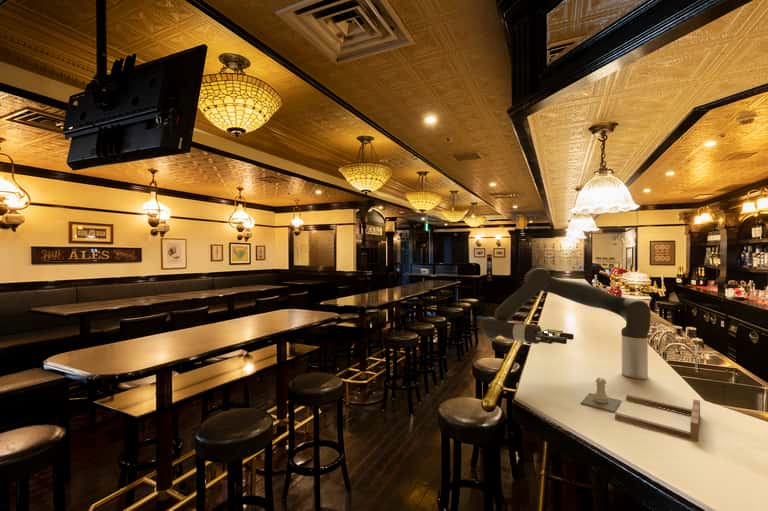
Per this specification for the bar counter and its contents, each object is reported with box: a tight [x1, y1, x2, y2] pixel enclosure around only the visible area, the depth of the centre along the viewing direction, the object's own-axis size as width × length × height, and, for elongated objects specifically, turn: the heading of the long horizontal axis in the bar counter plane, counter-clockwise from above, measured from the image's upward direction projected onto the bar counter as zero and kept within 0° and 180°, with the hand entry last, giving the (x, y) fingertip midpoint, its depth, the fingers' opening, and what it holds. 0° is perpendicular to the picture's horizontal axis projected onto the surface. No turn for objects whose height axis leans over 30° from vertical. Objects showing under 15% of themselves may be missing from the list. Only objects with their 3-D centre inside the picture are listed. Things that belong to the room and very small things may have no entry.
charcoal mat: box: [580, 392, 622, 414], centre depth 121 cm, size 12×10×1 cm
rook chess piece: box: [594, 377, 609, 404], centre depth 121 cm, size 4×4×8 cm
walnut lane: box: [614, 394, 701, 442], centre depth 110 cm, size 21×20×5 cm
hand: (570, 339), depth 129 cm, fingers open, 8 cm apart
